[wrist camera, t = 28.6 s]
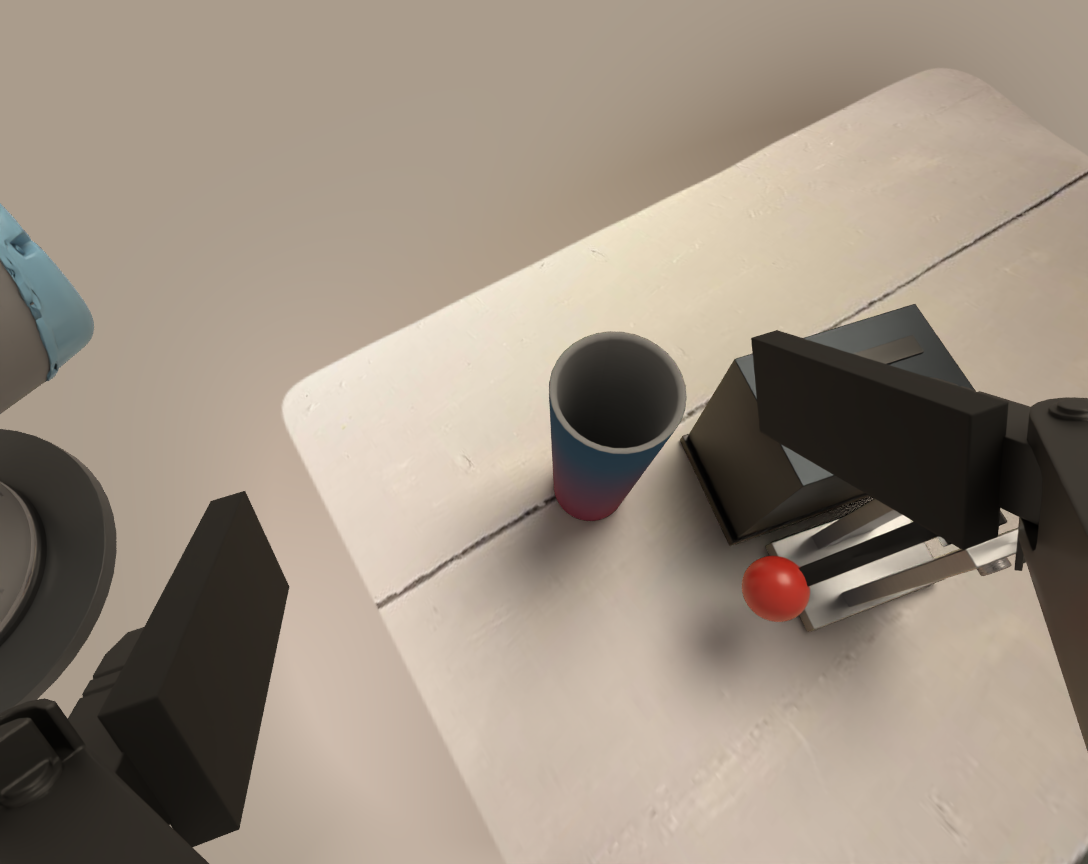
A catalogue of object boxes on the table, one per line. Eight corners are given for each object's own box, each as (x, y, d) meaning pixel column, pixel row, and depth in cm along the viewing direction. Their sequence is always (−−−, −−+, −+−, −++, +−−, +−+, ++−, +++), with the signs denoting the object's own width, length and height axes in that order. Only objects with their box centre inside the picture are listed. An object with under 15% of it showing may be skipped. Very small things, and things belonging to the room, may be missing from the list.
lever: (764, 628, 37) (754, 633, 34) (737, 570, 38) (725, 569, 35) (1005, 539, 32) (1020, 535, 29) (964, 476, 34) (975, 466, 31)
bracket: (806, 632, 41) (932, 599, 28) (764, 546, 43) (863, 480, 31) (935, 581, 43) (1109, 529, 30) (888, 501, 45) (1031, 421, 32)
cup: (643, 529, 44) (698, 448, 30) (545, 537, 43) (555, 458, 29) (629, 439, 46) (674, 327, 32) (537, 446, 46) (543, 334, 32)
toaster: (729, 546, 43) (801, 491, 32) (679, 440, 46) (728, 355, 35) (886, 490, 45) (1004, 419, 34) (828, 391, 48) (919, 297, 37)
